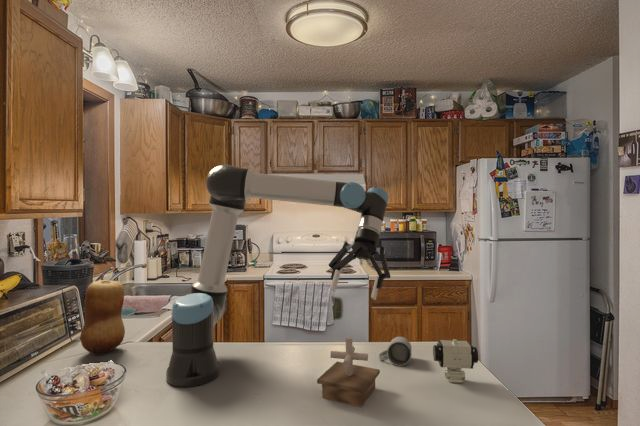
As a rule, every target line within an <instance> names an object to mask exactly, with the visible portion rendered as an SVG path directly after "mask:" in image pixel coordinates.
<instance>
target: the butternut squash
mask: <svg viewBox="0 0 640 426" xmlns="http://www.w3.org/2000/svg"><path fill="white" fill-rule="evenodd" d="M124 300H125V290H124V286H123V284H122V282H120V281H119V280H108V279H107V280H104V279H100V280H96V281H93V282H90V284H89V285H88V286H87V288H86V290H85V295H84V304H83V305H84V306H83V307H84V308H83V309H84V325H83V326H82V329H81V332H80V335H79V336H80V337H79V341H80V342H81V346H82V348H83V349H84V350H86V351H87V352H88V353H90V354H92V355H94V356H101V355H103V354H107V353H110V352H112V351H113V350H114V349H116V348H118V347H119V346H120V345H121V344H122V342H123V341H124V338H125V333H126V328H125V324H124V321H123V318H122V311H123V305H124Z"/></svg>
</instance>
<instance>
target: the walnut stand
mask: <svg viewBox="0 0 640 426" xmlns="http://www.w3.org/2000/svg"><path fill="white" fill-rule="evenodd" d="M343 362H344V361H343ZM343 362H342V361H336V362H335V363H333V364H332V365H331V366H330V367H329V368H328V369H327V370H325V372H323V374H321V375H320V376H319V377H318V378H317V379H316V383H317V384H319V385H321V389H322V390H321V391H322V392H321V393H322V394H321V397H322V398H323V399H327V400H331V401H336V402H338V403H343V404H346V405H347V404H348V405H351V406H356V407H359V408H360V407H361V408H362V407H363V406H364V405H365V403H366V402H367V400H368V399H369V397H370V396H371V395H372V394H373V392H374V390H375V389H376V379H377V378H378V376H379V375H380V372H381V371H380V370H381V369H378V368H372V367H368V366H362V365H359V364H353V375H352V376H348V375H346V367H344V366H343Z"/></svg>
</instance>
